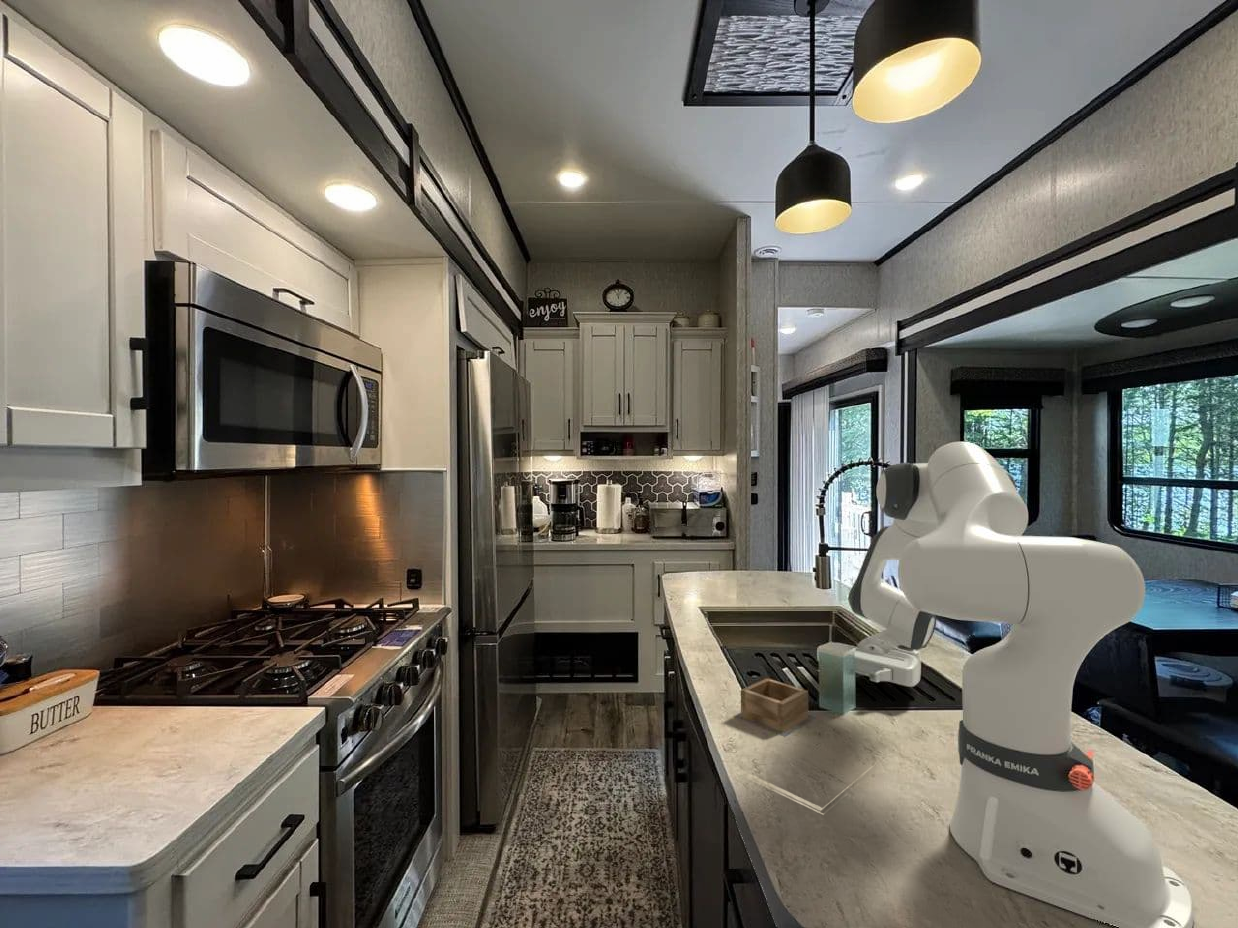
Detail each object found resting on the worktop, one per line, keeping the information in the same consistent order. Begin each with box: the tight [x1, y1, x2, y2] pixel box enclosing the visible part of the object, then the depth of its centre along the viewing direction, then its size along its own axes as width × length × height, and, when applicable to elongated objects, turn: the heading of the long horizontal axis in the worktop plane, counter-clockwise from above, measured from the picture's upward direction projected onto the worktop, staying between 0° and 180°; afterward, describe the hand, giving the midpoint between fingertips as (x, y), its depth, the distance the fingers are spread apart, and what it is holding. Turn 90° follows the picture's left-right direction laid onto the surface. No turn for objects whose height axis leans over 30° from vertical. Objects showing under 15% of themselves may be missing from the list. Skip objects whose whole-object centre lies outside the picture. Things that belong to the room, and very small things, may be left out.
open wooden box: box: [740, 677, 810, 732], centre depth 105 cm, size 9×9×5 cm
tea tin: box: [817, 641, 856, 716], centre depth 109 cm, size 5×5×12 cm
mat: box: [733, 712, 817, 737], centre depth 105 cm, size 11×11×1 cm
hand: (849, 671), depth 112 cm, fingers open, 8 cm apart
